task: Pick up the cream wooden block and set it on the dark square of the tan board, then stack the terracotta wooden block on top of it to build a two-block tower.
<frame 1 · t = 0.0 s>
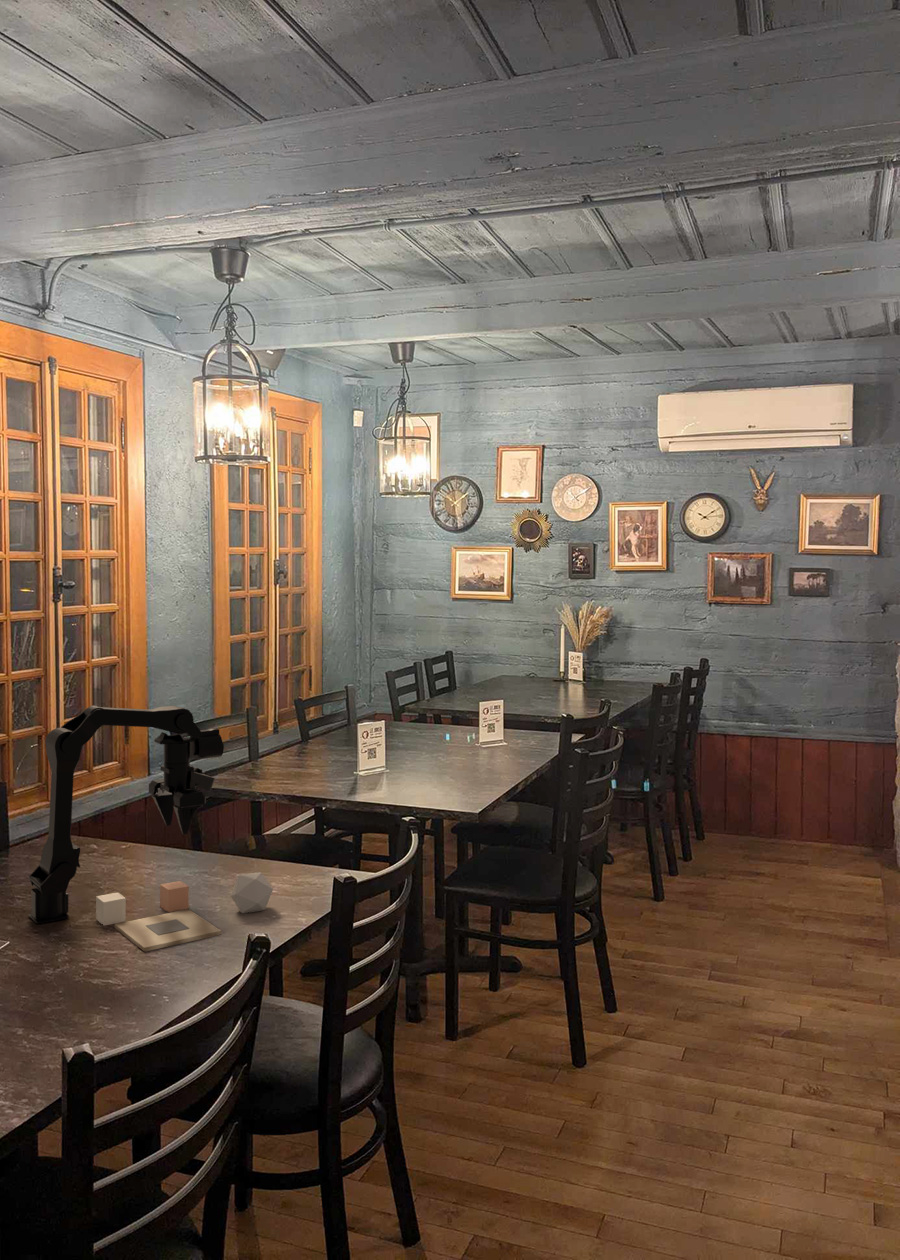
hand: (176, 829, 230), 15 cm above the table, tool pointing down, fingers open, 9 cm apart
cream block: (110, 920, 212), on the table
terracotta block: (174, 907, 221), on the table
die: (251, 910, 220), on the table
tan board: (167, 931, 206), on the table
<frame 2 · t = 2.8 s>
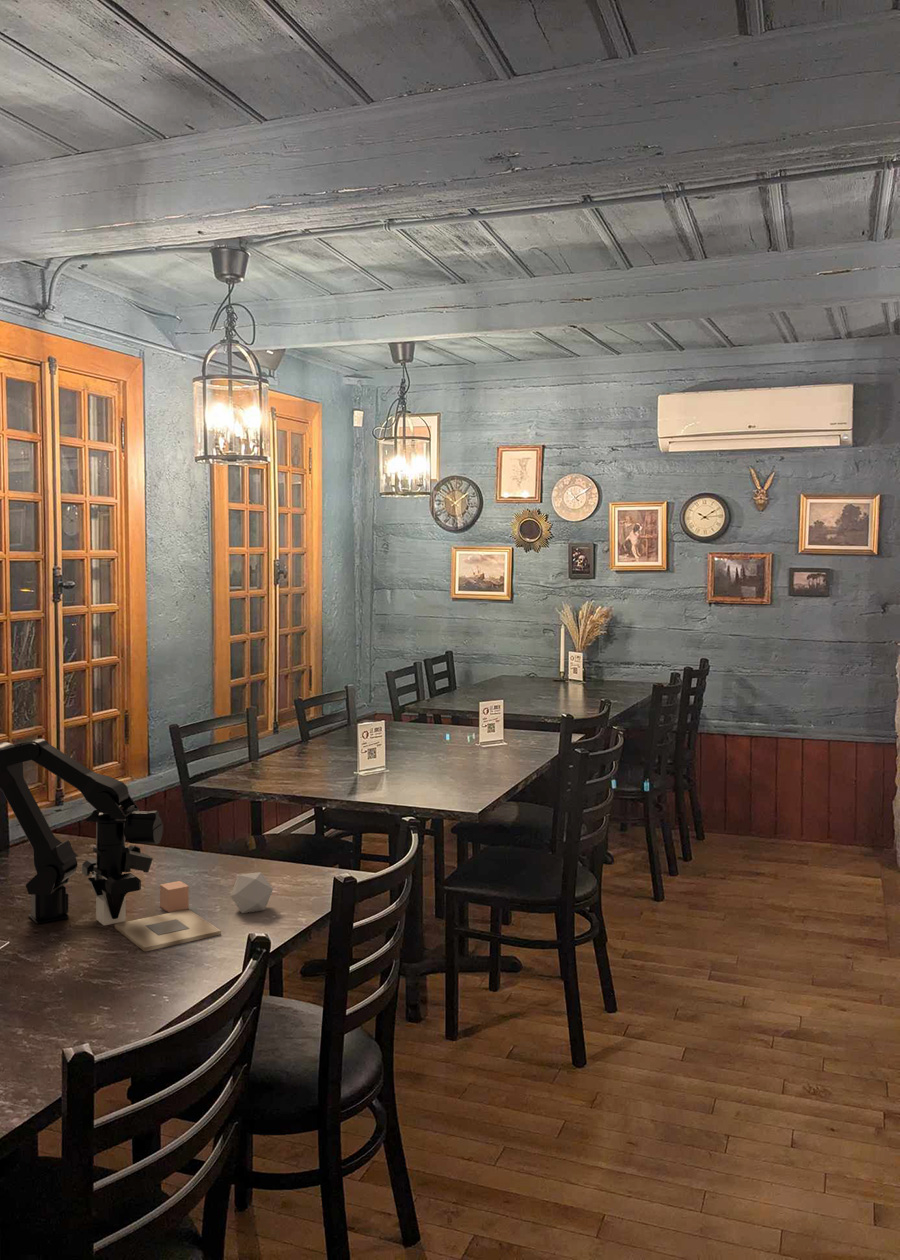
hand: (110, 915, 212), 1 cm above the table, tool pointing down, fingers closed on cream block, 5 cm apart
cream block: (110, 920, 212), on the table, touching gripper
everything else where it was.
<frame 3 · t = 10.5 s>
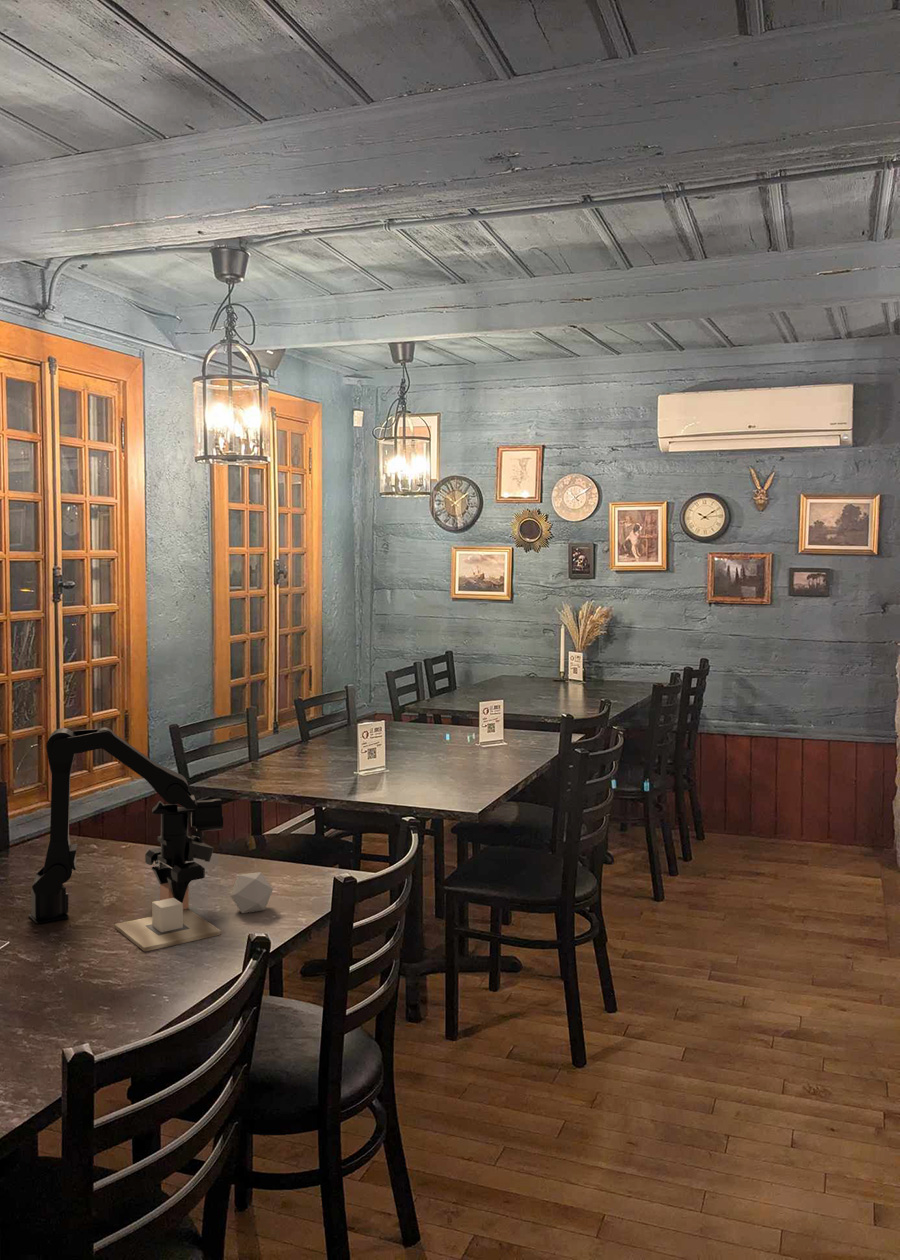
hand: (174, 902, 221), 1 cm above the table, tool pointing down, fingers closed on terracotta block, 5 cm apart
cream block: (167, 926, 206), point 1 cm above the table, touching tan board
terracotta block: (174, 907, 221), on the table, touching gripper
everything else where it was.
when the fingers open (8 cm above the table, at t = 13.7 s): terracotta block drops 1 cm, resting on cream block.
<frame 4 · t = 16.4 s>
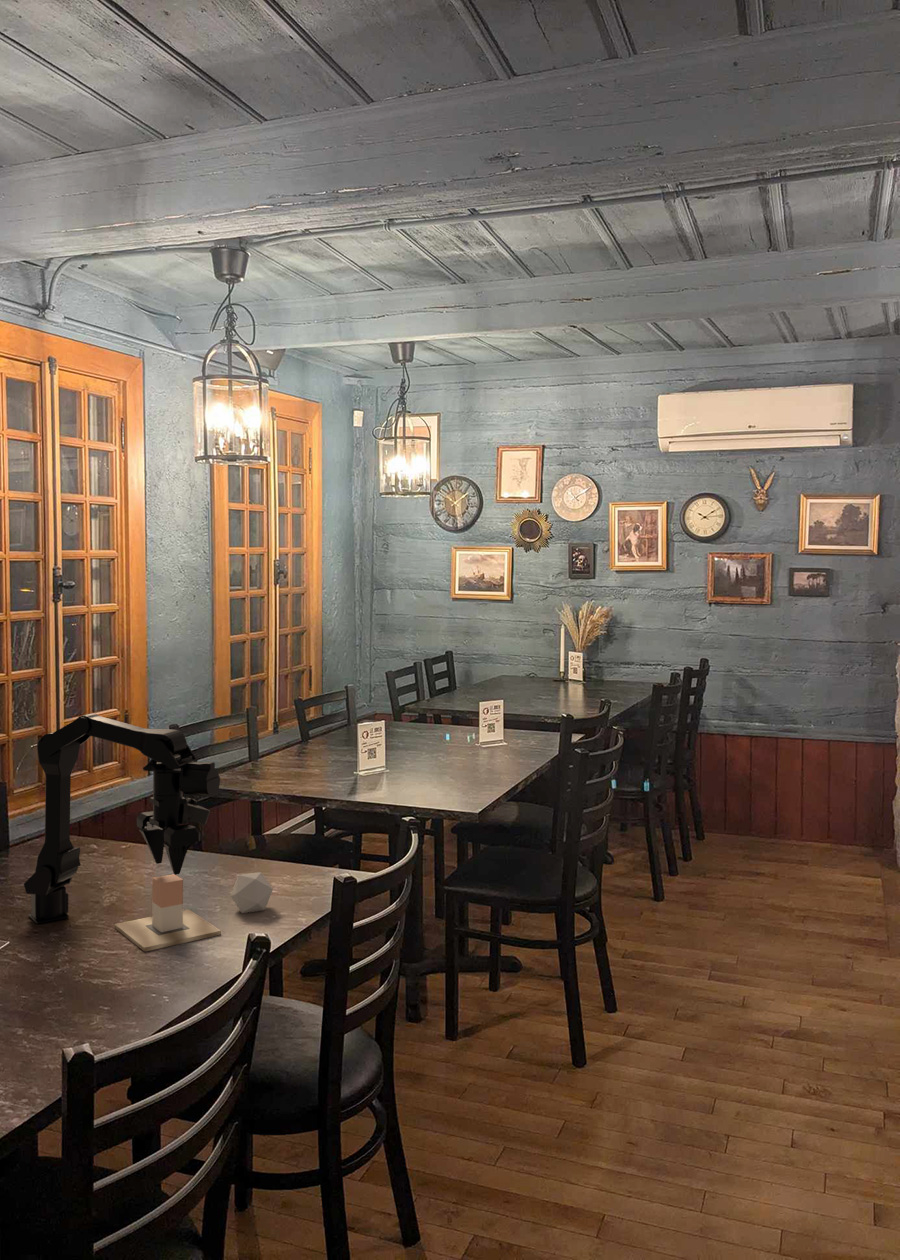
hand: (167, 868, 206), 13 cm above the table, tool pointing down, fingers open, 9 cm apart
cream block: (167, 926, 206), point 1 cm above the table, touching tan board, terracotta block
terracotta block: (167, 902, 206), point 6 cm above the table, touching cream block
everything else where it was.
at the end: cream block 0.1 cm from the target spot, point 0.9 cm above the table; terracotta block 0.0 cm off-centre on the cream block, point 5.0 cm above the cream block's base; terracotta block tilted 0° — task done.
